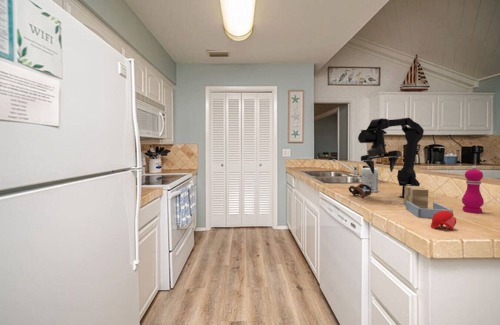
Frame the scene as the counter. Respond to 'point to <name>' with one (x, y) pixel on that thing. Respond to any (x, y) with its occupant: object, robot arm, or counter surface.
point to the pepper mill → (473, 191)
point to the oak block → (416, 196)
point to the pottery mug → (360, 190)
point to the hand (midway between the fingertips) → (382, 172)
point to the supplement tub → (370, 179)
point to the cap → (443, 219)
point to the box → (426, 210)
